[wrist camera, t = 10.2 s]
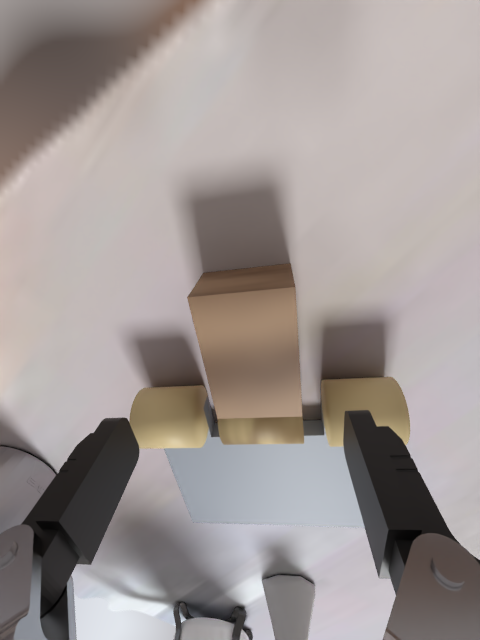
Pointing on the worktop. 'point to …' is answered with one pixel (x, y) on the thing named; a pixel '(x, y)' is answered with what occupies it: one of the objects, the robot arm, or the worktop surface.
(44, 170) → the worktop surface
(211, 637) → the coffee press
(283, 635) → the flask
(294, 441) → the tan wooden beam
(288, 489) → the grey flat piece
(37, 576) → the robot arm
